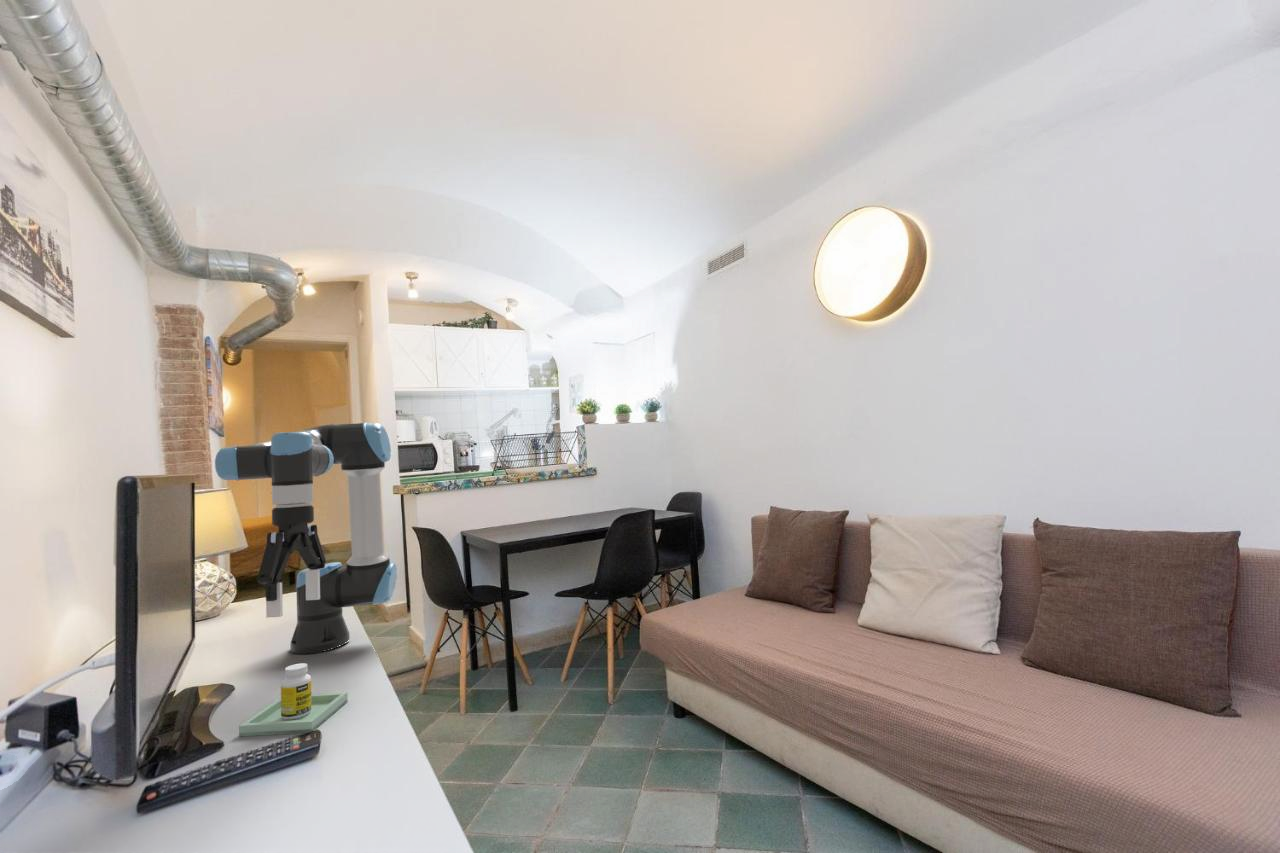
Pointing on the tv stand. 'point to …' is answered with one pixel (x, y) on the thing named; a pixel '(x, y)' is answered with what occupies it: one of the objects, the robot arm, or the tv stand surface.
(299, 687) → the supplement bottle
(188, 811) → the tv stand surface
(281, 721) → the tray
